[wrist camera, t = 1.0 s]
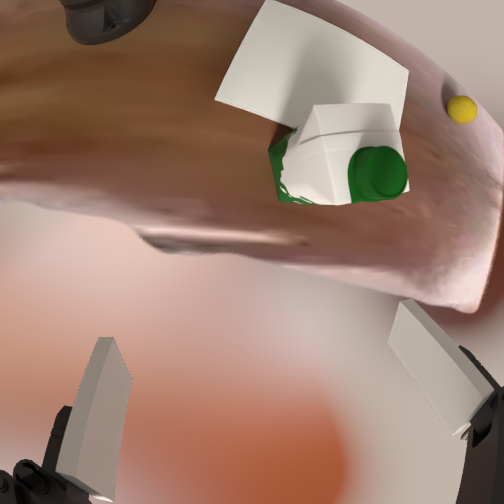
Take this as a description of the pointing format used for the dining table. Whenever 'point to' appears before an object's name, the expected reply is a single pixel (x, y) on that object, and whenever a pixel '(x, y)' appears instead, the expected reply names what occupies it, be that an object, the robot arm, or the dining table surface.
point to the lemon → (462, 109)
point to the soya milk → (341, 156)
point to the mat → (307, 68)
